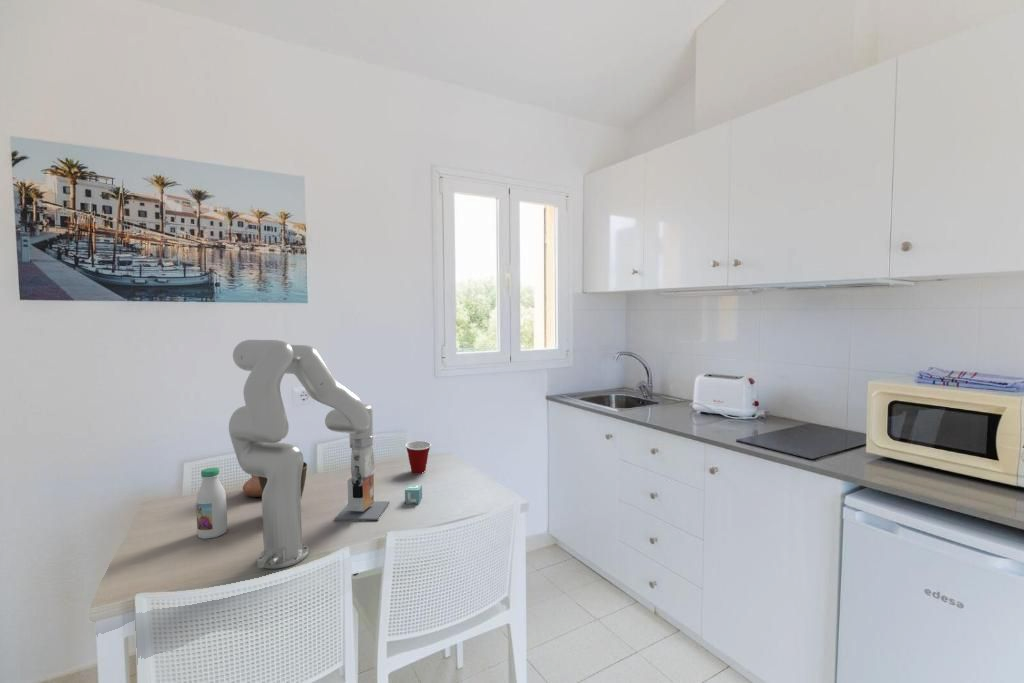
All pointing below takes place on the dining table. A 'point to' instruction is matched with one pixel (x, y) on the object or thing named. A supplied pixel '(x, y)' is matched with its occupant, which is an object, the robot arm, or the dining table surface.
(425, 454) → the plastic cup
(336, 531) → the dining table surface
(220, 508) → the milk bottle
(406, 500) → the lettered cube
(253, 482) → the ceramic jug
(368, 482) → the small box
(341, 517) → the slate mat
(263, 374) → the robot arm
